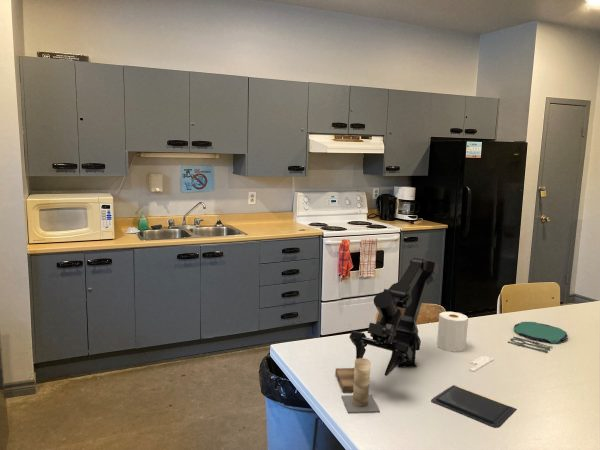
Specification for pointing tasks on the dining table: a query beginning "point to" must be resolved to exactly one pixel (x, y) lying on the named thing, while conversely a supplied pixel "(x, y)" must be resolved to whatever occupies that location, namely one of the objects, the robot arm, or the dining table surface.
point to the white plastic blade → (480, 362)
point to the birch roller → (361, 382)
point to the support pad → (352, 408)
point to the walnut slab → (345, 378)
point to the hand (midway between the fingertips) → (370, 371)
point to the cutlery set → (538, 334)
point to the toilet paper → (452, 331)
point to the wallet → (474, 406)
